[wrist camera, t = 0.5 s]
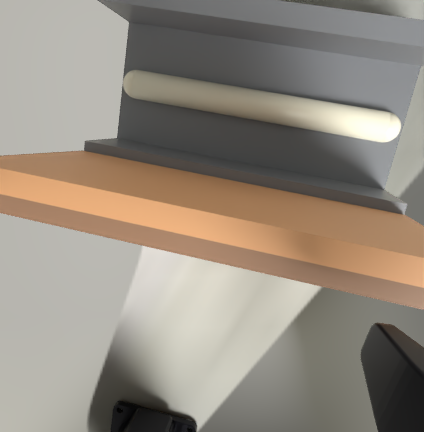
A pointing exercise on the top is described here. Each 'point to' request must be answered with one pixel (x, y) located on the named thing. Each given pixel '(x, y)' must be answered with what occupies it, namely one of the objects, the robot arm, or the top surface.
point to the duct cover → (221, 221)
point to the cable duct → (268, 94)
